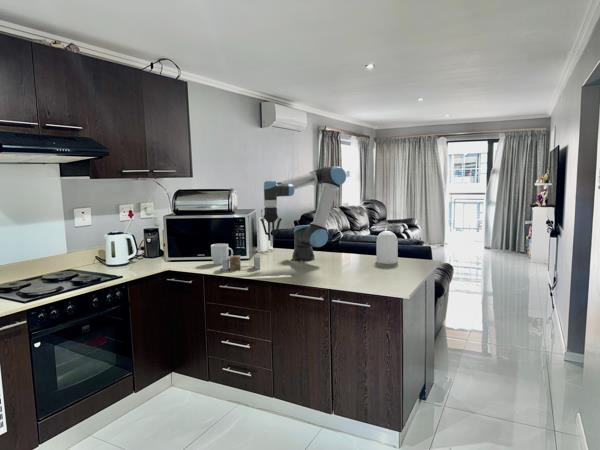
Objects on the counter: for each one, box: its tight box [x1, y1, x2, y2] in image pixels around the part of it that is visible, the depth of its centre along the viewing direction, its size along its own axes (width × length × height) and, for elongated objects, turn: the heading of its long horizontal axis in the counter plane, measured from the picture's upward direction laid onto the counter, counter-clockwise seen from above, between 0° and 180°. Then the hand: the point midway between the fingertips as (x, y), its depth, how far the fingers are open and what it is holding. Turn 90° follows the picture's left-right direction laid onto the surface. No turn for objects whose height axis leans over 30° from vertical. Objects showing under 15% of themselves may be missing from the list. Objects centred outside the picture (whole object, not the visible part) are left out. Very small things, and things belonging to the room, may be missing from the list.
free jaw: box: [253, 254, 261, 270], centre depth 250 cm, size 3×8×7 cm, turn 6°
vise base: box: [218, 265, 261, 274], centre depth 249 cm, size 25×12×2 cm, turn 96°
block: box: [229, 254, 242, 271], centre depth 248 cm, size 6×6×8 cm
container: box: [375, 230, 399, 265], centre depth 266 cm, size 14×13×20 cm
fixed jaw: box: [221, 256, 230, 272], centre depth 248 cm, size 3×8×7 cm, turn 6°
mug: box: [210, 243, 234, 266], centre depth 268 cm, size 15×11×13 cm
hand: (271, 246), depth 249 cm, fingers closed
